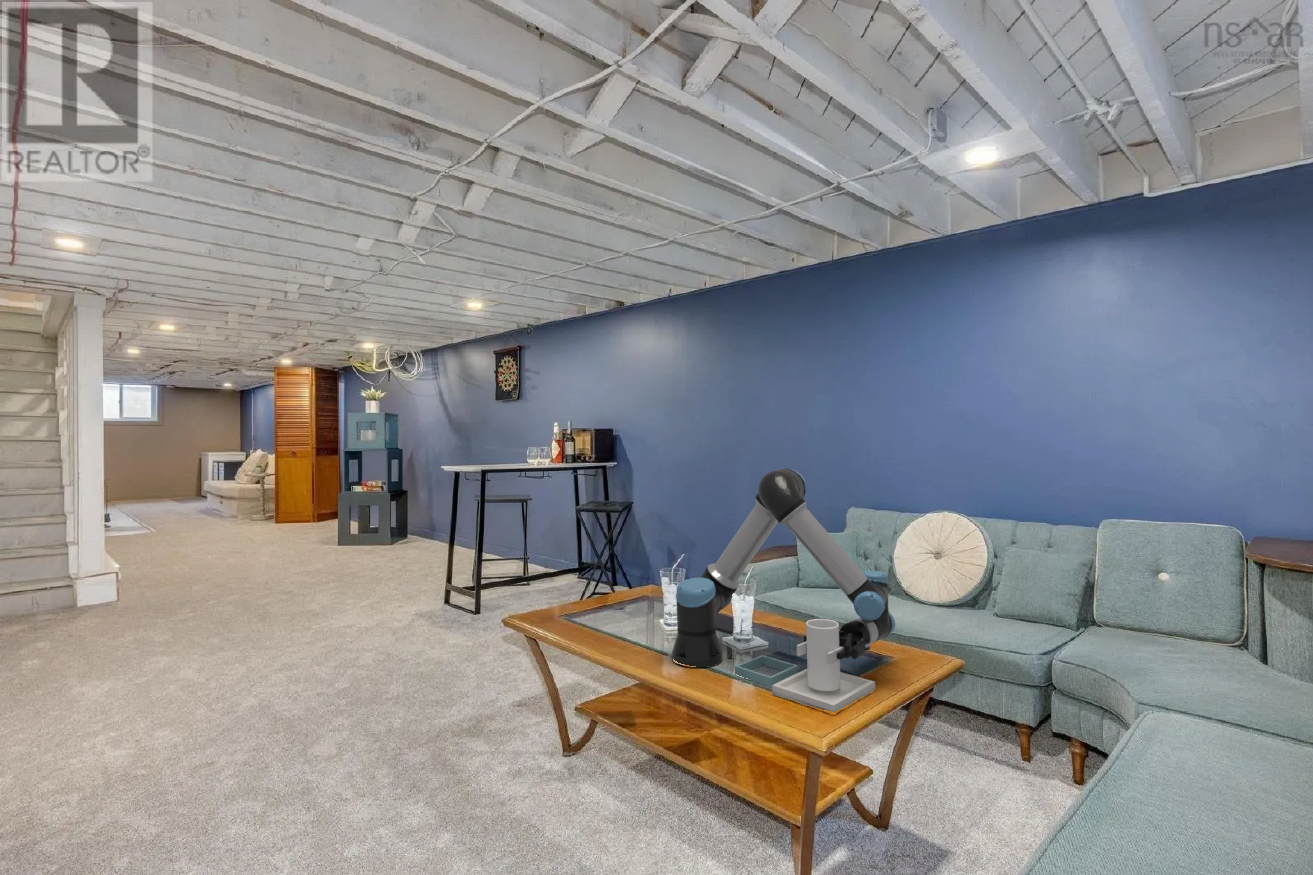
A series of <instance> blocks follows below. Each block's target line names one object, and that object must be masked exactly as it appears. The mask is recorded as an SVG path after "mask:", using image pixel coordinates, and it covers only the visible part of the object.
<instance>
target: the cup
mask: <svg viewBox="0 0 1313 875" xmlns="http://www.w3.org/2000/svg"><path fill="white" fill-rule="evenodd" d="M839 627H840V625H839V622H837V621H835V620H832V619H828V618H827V619H826V618H815V619H814V618H813V619H809V620H807V621H805V630H806V631H805V632H806V635H805V636H806V638H807V653H806V661H807V662H806V665H807V666H806V667H807V668H806V669H807V672H808V685H809V686H810V687H811V688H813V689H816V690H821V691H833V690H837V689H839V688H840V672H841V661H840V660H838V661H836V662H834V663H832V664H830V665H829V664H827V653H828V652H830V651H833V650H835V649H837V648H839V647H840V646H839V631H840V628H839Z"/></svg>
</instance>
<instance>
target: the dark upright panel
mask: <svg viewBox="0 0 1313 875" xmlns="http://www.w3.org/2000/svg"><path fill="white" fill-rule="evenodd" d="M733 618H734V617H732V616H728V615H724V614H720V613H717V614H716V632H717V631H719V632H721V633H725V634H729V635H732V633H733ZM753 623H754V627H753V628H755V626H756V623H755V622H753Z"/></svg>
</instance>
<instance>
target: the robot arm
mask: <svg viewBox="0 0 1313 875" xmlns="http://www.w3.org/2000/svg"><path fill="white" fill-rule="evenodd" d="M757 491H758V492H757V494H756V495H755V497H754V501H755V505H754V507H753V508H752V510H751V511H750V512H749V514H748V515H747V517H746V519H744V521H743V522H742V524H741V525H740V527H739V529H738V530H737V531H736V533H735V534H734V536H733V537H732V538H731V540H730V541H729V543H728V545H727V546H726V548H725V549H724V550H723V552H722V553H721V555H720V556H719V558H718V559H717V560H716V562H715V563H709V564H708V565H707V567H706V568H705V570H704V571H703V572H702V574H701V575H700V577H691V578H689V579H688V578H687V579H686V578H685V579H684V580H682V581H680V582H679V583H678V585H677V586H676V592H675V600H676V624H677V626H676V627H677V628H676V630H677V634H676V638H675V642H674V645H673V649H672V652H671V653H672V654H671V656H672V657H671V659H672V658H673V659H674V660H675V661H677V662H678V663H681V664H685V665H689V666H696V667H705V668H708V667H707V666H711V667H713V666H712V665H714V666H716V665H715V664H717V665H719V664H721V663H722V662H723V650H722V647H721V644H720V641H719V639H718V638H719V637H718V635H717V630H716V614H719V612H721V611H722V610H724V608H726V607H727V606H728V605H729V604H730V603H731V601H732V599H733V596H732V594H733V593H734V594H735V592H736V591H737V590H738V588H739V587H740V586H739V585H740V584H739V579H740V577H741V576H742V574H743V573H744V572H745V570H746V568H747V567H748V565H749V564H750V563H751V562H752V560H753V558H754V557H755V556H756V554H757V553H758V551H759V550H760V549H761V547H762V546H763V544H764V543H765V541H766V540H767V539H768V538H769V535H771V533H772V531H773V530H774V529H775V527H776V526H777V525H778V523H779V524H780V525H785V527H787V528H788V530H789V531H790V532H791V533H792V534H793V535H794V536H795V538H797V540H798V541H799V542H800V543H801V545H802V546H803V547H804V548H805V550H807V552H809V554H810V555H811V556H812V558H813V559H814V560H815V561H816V562H817V563H818V564H819V566H821V568H822V569H823V570H824V571H825V573H826V574H827V575H828V576H829V577H830V579H831V580H832V581H833V582H834V583H835V584H836V585H837V587H838V588H839V589H840V591H842V592H843V594H845V596H846V597H847V598H848V600H849V601H850V602H851V604H852V605H853V608H854V612H855V613H856V614H857V616H858V618H856V619H853V620H851V621H849V622H846V623H844V624H843V625H842V626H841V627H840V628H839V648H837V649H835V650H833V651H830V652H828V653H827V664H829V665H830V664H832V663H834V662H836V661H838V660H843V659H845V658H846V659H849V658H850V657H851V659H853V660H857V659H858V658H859V657H861V656H862V655H863V654H864V653H865V652H867V651H869V650H870V649H871V644H875V643H876V642H878V641H880V640H882V639H885V638H887V637H888V636H890V634H892V633H893V632H894V630H895V628H896V621H895V618H894V616H893V615H892V613H891V612H890V610H889V579H888V575H887V574H888V573H885V572H884V571H880V570H865V571H864V570H863V571H862V570H861V568H859V567H858V566H857V564H856V563H855V562H854V560H852V558H850V556H849V555H848V554H847V553H846V552H845V551H844V549H843V548H842V547H841V546H840V545H839V543H837V541H836V540H835V539H834V537H832V536H831V534H830V533H829V532H828V531H827V529H825V527H824V526H823V525H822V524H821V523H820V522H819V521H818V520H817V518H816V517H815V516H814V515H813V514H812V512H811V511H809V509H808V508H807V501H806V500H805V499H804V498H805V497H806V493H807V484H806V480H805V478H804V476H803V475H802V474H801V473H800V472H798V471H797V470H795V469H792V468H788V467H782V468H778V469H777V470H771V471H770V472H768V473H766V474H764V476H762V478H761V480H760V481H759V485H758V490H757ZM734 594H733V595H734ZM805 654H806V655H807V638H806V635H804V636H803V642H801V643H798V644H797V645H796V656H797V657H801V656H804V655H805Z"/></svg>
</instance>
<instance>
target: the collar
mask: <svg viewBox="0 0 1313 875" xmlns="http://www.w3.org/2000/svg"><path fill="white" fill-rule="evenodd" d="M760 666H766V667H769V668H771V669H772V668H773V669H775V670H778V671H779V672H778V673H775V674H773V675H767V674H764V673H761V672H757V671H754V669H756V668H759V667H760ZM797 673H799V665H798V664H794V663H791V662H788V661H785V660H784V661H783V660H781V659H778V658H774V657H770V656H767V655H763V654H761V655H759V656H756V657H754V658H752V659H749V660H747V661H745V662H744V661H743V662H742V663H738V664H737V665H734V675H735V674H737V675H739V676H742V677H744V678H743V679H745V678H748V679H751V680H753V681H752V682H754V681H755V682H754V683H757V682H758V683H757V684H760V683H761V684H760V685H764V686H766V687H770V688H772V685H774V684H776V683H778V682H780V681H782V680H784V679H786V678H788V677H790V676H792V675H795V674H797ZM739 676H738V677H739ZM742 677H741V678H742ZM748 679H747V680H748ZM751 680H750V681H751Z"/></svg>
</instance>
